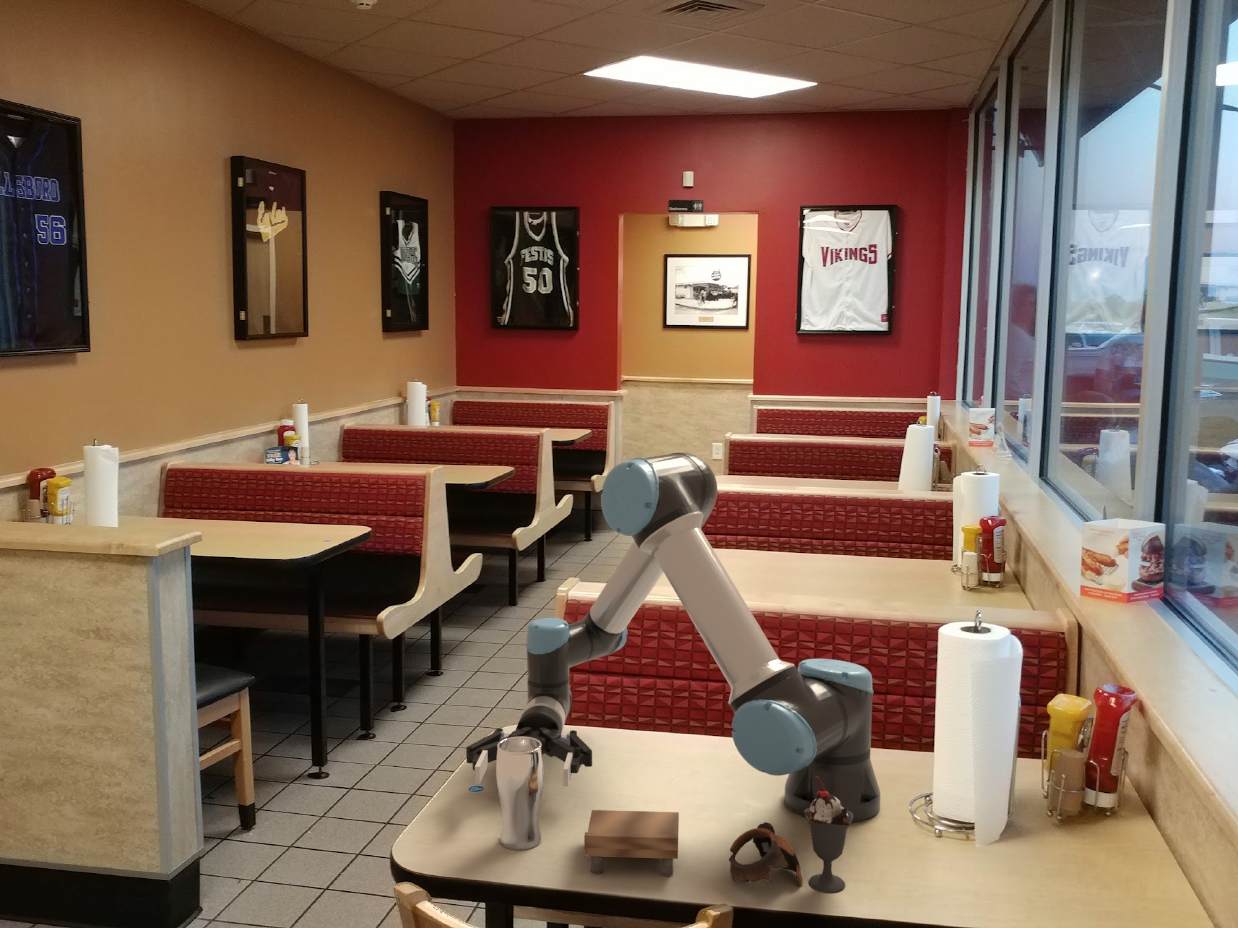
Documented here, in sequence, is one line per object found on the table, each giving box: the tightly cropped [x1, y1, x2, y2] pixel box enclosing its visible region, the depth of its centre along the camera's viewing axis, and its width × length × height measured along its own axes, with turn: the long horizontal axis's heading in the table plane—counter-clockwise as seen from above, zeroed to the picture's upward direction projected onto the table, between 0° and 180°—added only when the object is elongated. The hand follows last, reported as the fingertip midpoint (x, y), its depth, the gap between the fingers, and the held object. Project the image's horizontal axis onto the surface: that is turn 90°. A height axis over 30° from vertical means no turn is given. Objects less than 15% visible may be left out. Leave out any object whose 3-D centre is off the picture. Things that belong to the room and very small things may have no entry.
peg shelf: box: [583, 809, 680, 877], centre depth 160 cm, size 13×12×6 cm
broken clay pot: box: [728, 821, 804, 888], centre depth 154 cm, size 12×10×8 cm
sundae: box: [803, 776, 853, 894], centre depth 152 cm, size 7×7×15 cm
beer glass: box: [495, 736, 544, 851], centre depth 164 cm, size 7×7×15 cm
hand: (521, 776), depth 169 cm, fingers open, 13 cm apart
